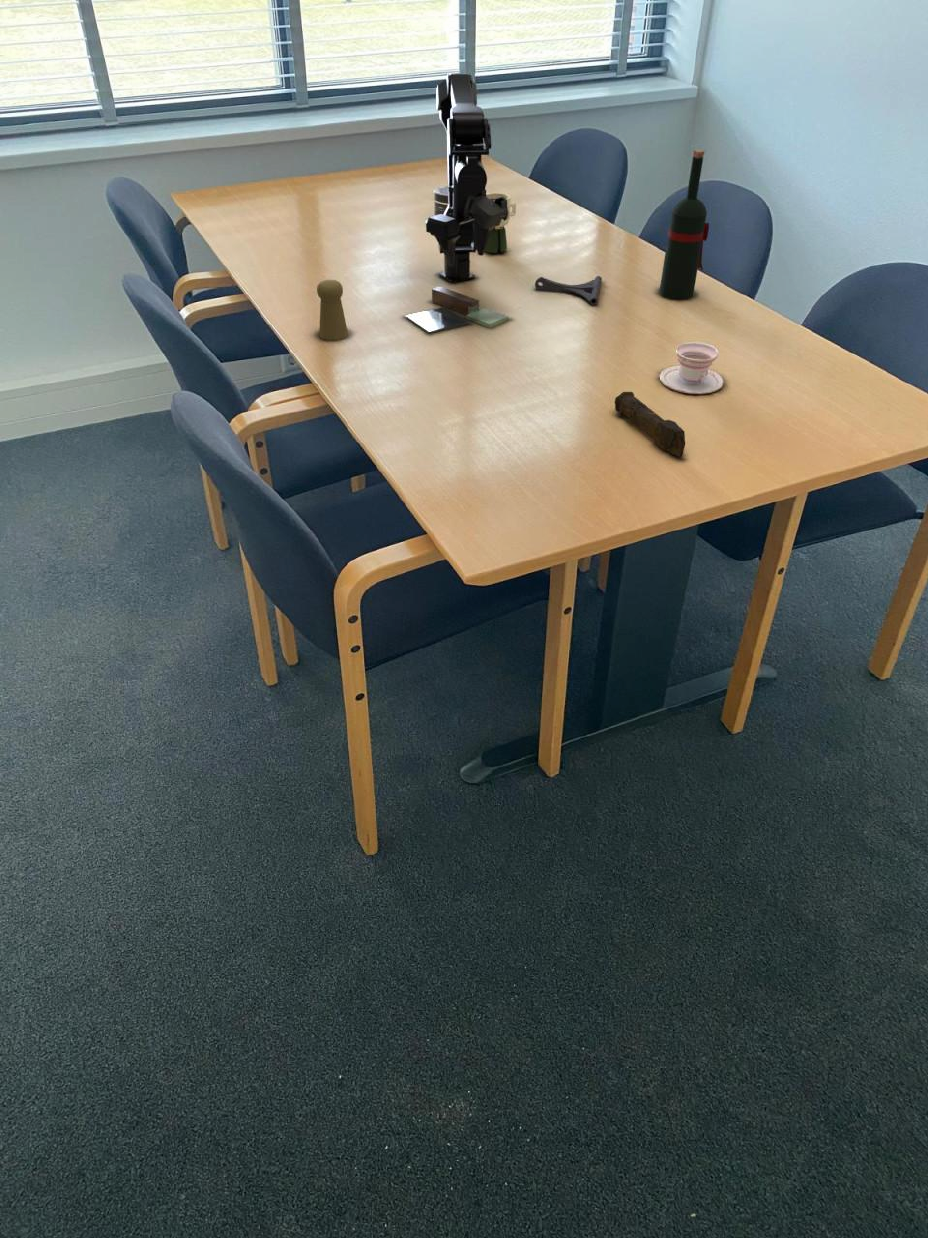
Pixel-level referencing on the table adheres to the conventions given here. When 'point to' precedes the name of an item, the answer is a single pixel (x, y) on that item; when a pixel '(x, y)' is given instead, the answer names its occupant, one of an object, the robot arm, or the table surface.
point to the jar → (440, 200)
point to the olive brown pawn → (331, 311)
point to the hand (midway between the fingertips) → (466, 260)
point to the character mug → (500, 226)
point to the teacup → (693, 370)
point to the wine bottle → (685, 240)
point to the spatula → (467, 307)
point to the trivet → (437, 320)
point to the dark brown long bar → (652, 423)
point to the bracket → (573, 288)
